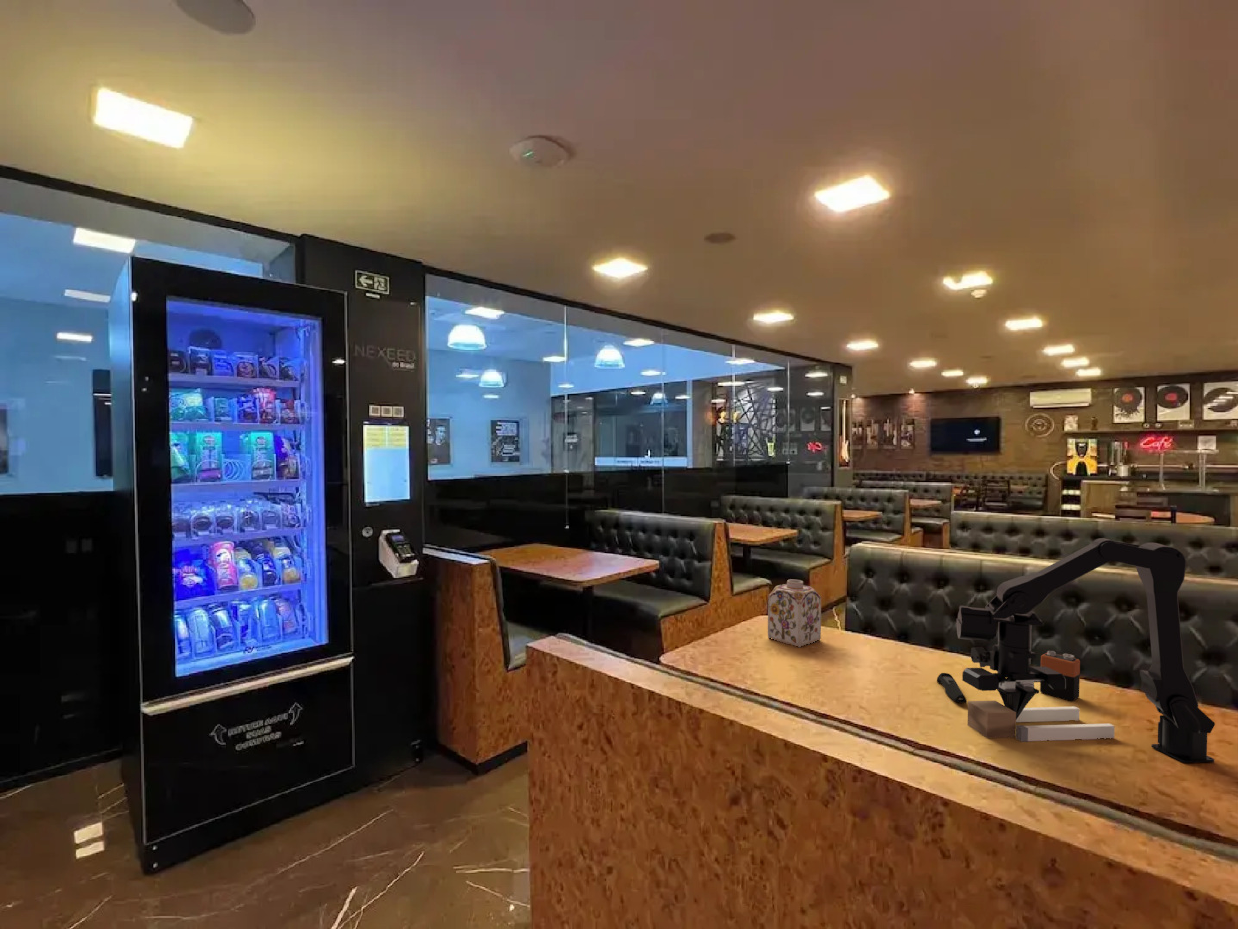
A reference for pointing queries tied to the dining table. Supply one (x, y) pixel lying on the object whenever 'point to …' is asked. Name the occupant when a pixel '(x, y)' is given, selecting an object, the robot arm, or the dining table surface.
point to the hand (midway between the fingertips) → (1012, 719)
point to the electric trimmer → (951, 687)
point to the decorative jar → (794, 614)
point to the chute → (1058, 730)
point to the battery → (1069, 670)
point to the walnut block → (991, 719)
